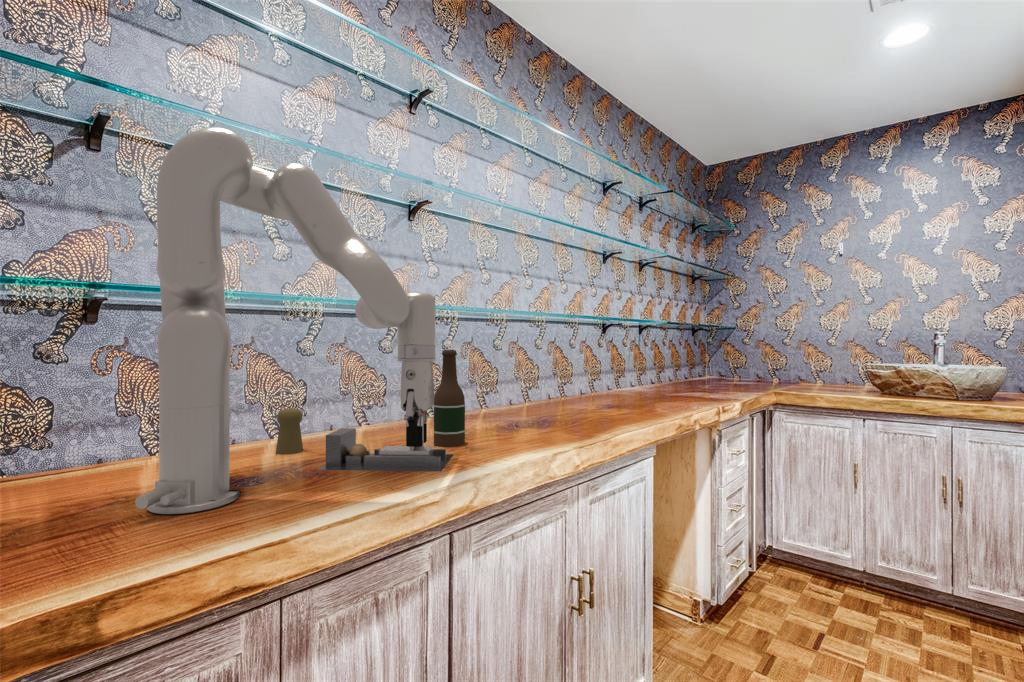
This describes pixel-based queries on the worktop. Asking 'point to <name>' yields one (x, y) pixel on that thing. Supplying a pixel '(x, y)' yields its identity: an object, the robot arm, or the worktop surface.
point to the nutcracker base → (376, 457)
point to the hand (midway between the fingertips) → (416, 443)
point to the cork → (289, 432)
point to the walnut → (358, 450)
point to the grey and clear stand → (408, 448)
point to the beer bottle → (449, 406)
